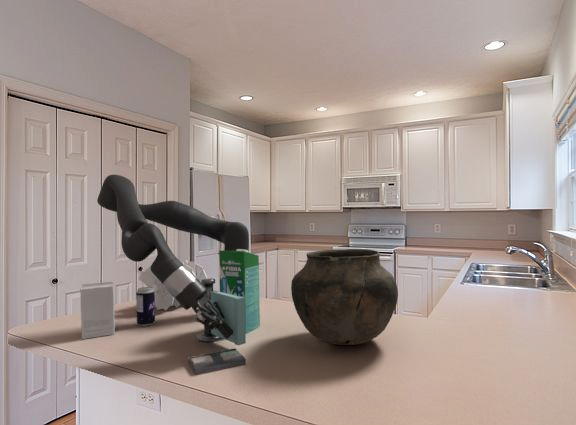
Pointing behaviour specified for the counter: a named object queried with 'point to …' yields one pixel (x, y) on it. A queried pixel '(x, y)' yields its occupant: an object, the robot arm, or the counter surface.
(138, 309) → the beverage can
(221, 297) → the swing panel
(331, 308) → the pot
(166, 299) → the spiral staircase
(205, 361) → the tray
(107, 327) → the supplement box
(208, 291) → the post
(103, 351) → the counter surface
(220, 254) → the milk carton
